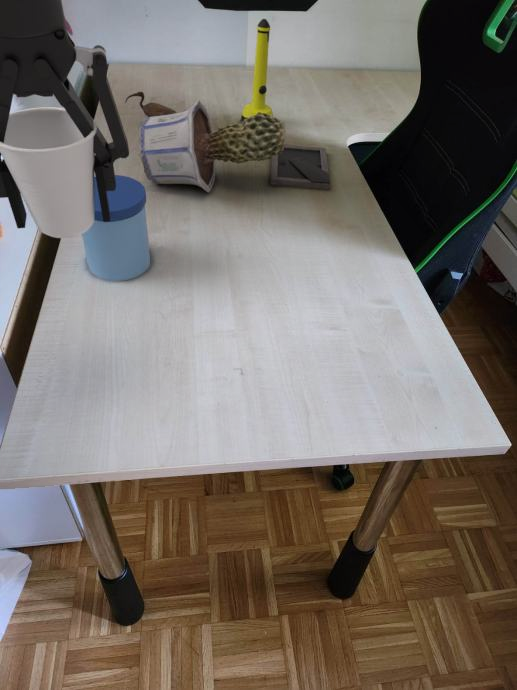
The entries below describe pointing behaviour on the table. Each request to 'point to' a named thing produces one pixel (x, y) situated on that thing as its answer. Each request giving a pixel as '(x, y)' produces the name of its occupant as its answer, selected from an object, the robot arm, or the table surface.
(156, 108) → the figurine
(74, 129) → the cup
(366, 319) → the table surface
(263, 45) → the flashlight
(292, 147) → the picture frame
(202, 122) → the potted plant
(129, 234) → the blue lidded canister
